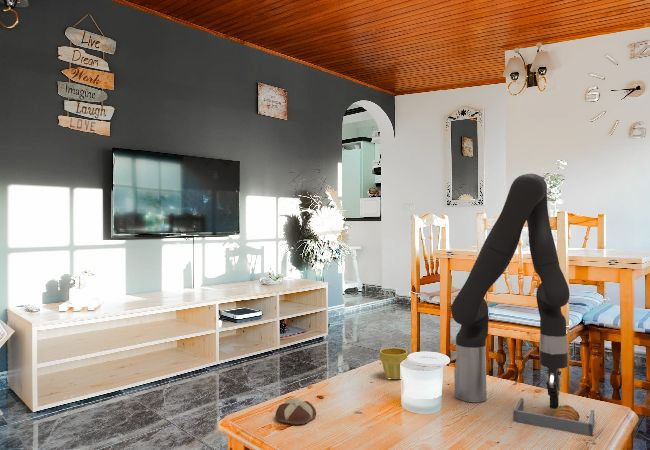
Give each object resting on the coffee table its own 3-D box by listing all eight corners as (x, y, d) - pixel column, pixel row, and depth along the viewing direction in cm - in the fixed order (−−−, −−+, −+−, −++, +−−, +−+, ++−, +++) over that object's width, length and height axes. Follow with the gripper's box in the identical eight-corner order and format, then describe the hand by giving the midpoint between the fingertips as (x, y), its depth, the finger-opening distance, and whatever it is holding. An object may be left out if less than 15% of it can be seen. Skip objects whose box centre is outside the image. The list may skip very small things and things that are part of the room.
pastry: (577, 431, 131) (577, 417, 131) (550, 426, 135) (549, 413, 135) (580, 419, 139) (579, 406, 139) (554, 415, 143) (553, 402, 143)
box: (513, 421, 138) (513, 410, 138) (520, 408, 148) (520, 398, 148) (592, 436, 128) (592, 424, 128) (594, 420, 137) (594, 410, 137)
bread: (292, 408, 151) (292, 392, 151) (322, 417, 144) (321, 400, 144) (267, 420, 142) (267, 403, 142) (298, 430, 135) (297, 412, 135)
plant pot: (374, 378, 178) (374, 351, 178) (389, 371, 186) (389, 345, 186) (398, 384, 171) (398, 356, 171) (413, 376, 179) (413, 350, 179)
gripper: (542, 343, 151) (543, 398, 151) (536, 353, 139) (537, 413, 139) (569, 345, 147) (570, 403, 147) (565, 356, 136) (566, 418, 136)
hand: (554, 408), depth 143 cm, fingers closed
